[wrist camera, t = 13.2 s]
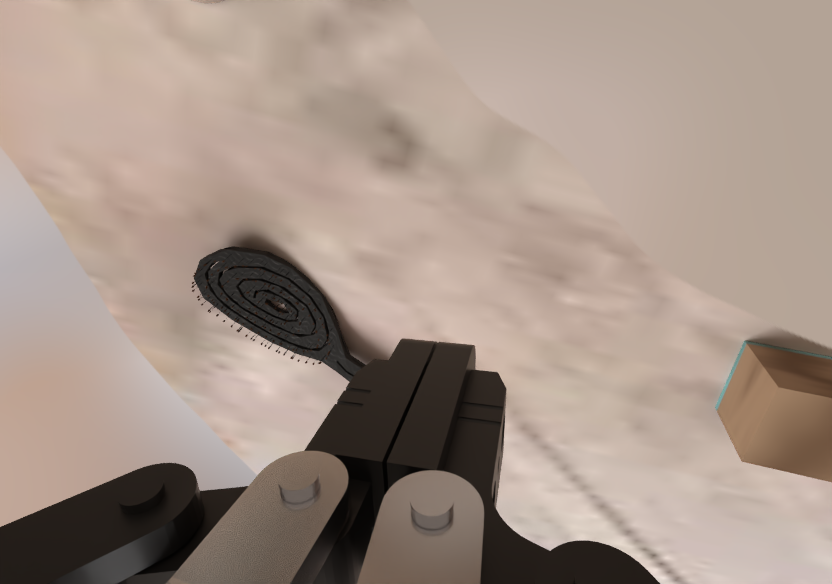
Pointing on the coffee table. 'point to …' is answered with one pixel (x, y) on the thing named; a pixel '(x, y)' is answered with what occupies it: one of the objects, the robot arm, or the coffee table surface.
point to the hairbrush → (264, 316)
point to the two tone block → (780, 409)
